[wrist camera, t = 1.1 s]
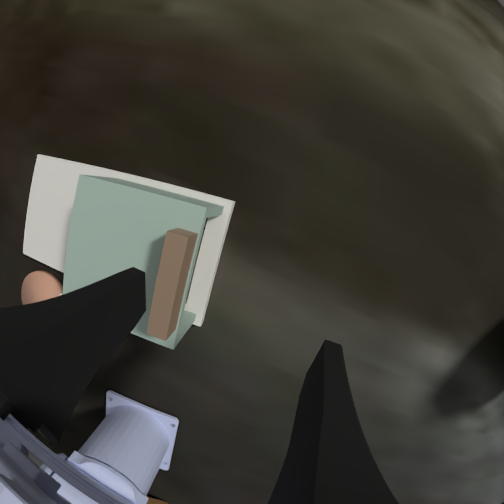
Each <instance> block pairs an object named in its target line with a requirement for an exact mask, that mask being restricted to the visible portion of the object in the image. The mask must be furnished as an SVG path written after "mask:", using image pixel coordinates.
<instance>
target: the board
mask: <svg viewBox="0 0 504 504" xmlns="http://www.w3.org/2000/svg"><path fill="white" fill-rule="evenodd" d="M80 174H81V175H92V176H101V177H111V178H118V179H122V180H126V181H130V182H134V183H138V184H142V185H146V186H150V187H154V188H158V189H162V190H165V191H169V192H173V193H177V194H181V195H184V196H188V197H192V198H195V199H199V200H203V201H206V202H210V203H213V204H217V205H221V206H224V209H223V213H222V215H218V216H213V217H208V219H207V223H206V227H205V231H204V234H203V238H202V242H201V246H200V250H199V254H198V258H197V262H196V266H195V270H194V274H193V278H192V283H191V287H190V291H189V295H188V300H186V304H185V308H184V310H186V311H189V312H192V313H195V314H196V318H195V321H194V322H193V324H194V325H196V326H199V327H201V325H202V324H203V321H204V317H205V313H206V309H207V305H208V301H209V297H210V293H211V289H212V286H213V282H214V278H215V274H216V270H217V267H218V263H219V259H220V255H221V252H222V248H223V244H224V241H225V237H226V233H227V230H228V226H229V222H230V219H231V215H232V212H233V208H234V205H235V201H231V200H228V199H224V198H220V197H217V196H213V195H209V194H206V193H202V192H198V191H195V190H191V189H187V188H183V187H179V186H175V185H172V184H168V183H164V182H160V181H156V180H152V179H148V178H144V177H140V176H135V175H131V174H127V173H123V172H119V171H114V170H110V169H106V168H101V167H97V166H92V165H88V164H83V163H79V162H74V161H70V160H65V159H60V158H55V157H50V156H45V155H39V154H38V156H37V160H36V164H35V169H34V174H33V179H32V184H31V190H30V196H29V202H28V209H27V217H26V225H25V234H24V245H23V254H25V255H27V256H29V257H31V258H33V259H35V260H37V261H39V262H42V263H44V264H46V265H48V266H50V267H52V268H54V269H56V270H58V271H61V272H63V273H64V268H65V259H66V250H67V242H68V235H69V228H70V222H71V216H72V210H73V204H74V199H75V194H76V189H77V184H78V180H79V175H80Z"/></svg>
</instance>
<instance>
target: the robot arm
mask: <svg viewBox="0 0 504 504" xmlns="http://www.w3.org/2000/svg"><path fill="white" fill-rule="evenodd" d="M145 311H146V281H145V272H144V271H142V270H139V269H137V268H135V267H131V268H129V269H126V270H124V271H121V272H119V273H116V274H114V275H111V276H109V277H107V278H104V279H102V280H100V281H97V282H95V283H92V284H90V285H88V286H85V287H82V288H80V289H77V290H74V291H72V292H69V293H66V294H63V295H60V296H57V297H54V298H50V299H47V300H43V301H39V302H35V303H30V304H25V305H20V306H13V307H5V308H0V504H146V503H147V501H148V499H149V498H148V497H146V495H147V493H148V491H149V489H150V487H151V485H152V482H153V480H154V478H155V476H156V474H157V472H158V470H159V468H160V469H163V470H168V469H169V466H170V461H171V456H172V452H173V447H174V442H175V438H176V433H177V429H178V424H179V420H178V419H177V418H176V417H173V416H171V415H168V414H165V413H163V412H160V411H158V410H155V409H153V408H150V407H148V406H145V405H143V404H141V403H138V402H136V401H134V400H131V399H129V398H127V397H125V396H123V395H120V394H118V393H116V392H114V391H112V390H108V391H107V393H106V417H105V419H104V420H103V421H102V422H101V423H100V425H99V426H98V427H97V428H96V430H95V431H94V432H93V433H92V435H91V436H90V437H89V438H88V440H87V441H86V442H85V443H84V445H83V446H82V447H81V448H80V450H79V451H78V452H77V451H74V452H73V453H72V454H71V455H70V457H69V458H68V456H66V455H65V454H64V453H60V454H55V453H54V452H53V451H51V450H50V449H49V448H48V447H47V446H45V445H44V444H43V443H42V442H41V441H39V440H38V439H37V438H36V437H35V436H34V435H32V434H31V433H30V432H29V431H28V430H27V428H28V427H29V428H30V429H31V430H32V431H33V432H38V433H39V434H41V435H42V436H43V437H44V438H45V439H47V440H48V441H49V442H50V443H57V442H59V440H60V437H61V435H62V433H63V431H64V428H65V426H66V424H67V422H68V420H69V418H70V416H71V414H72V412H73V410H74V408H75V406H76V405H77V403H78V401H79V399H80V398H81V396H82V394H83V393H84V391H85V389H86V388H87V386H88V385H89V383H90V382H91V380H92V379H93V377H94V376H95V374H96V373H97V371H98V370H99V369H100V367H101V366H102V365H103V364H104V362H105V361H106V360H107V359H108V358H109V357H110V356H111V354H112V353H113V352H114V351H115V350H116V349H117V348H118V346H119V345H120V344H121V343H122V342H123V341H124V340H125V338H126V337H127V336H128V335H129V334H130V333H131V331H132V330H133V329H134V328H135V326H136V325H137V323H138V322H139V320H140V319H141V317H142V316H143V314H144V313H145ZM111 398H112V399H111ZM173 424H174V425H173ZM27 449H28V450H29V451H30V452H31V453H32V454H33V455H34V456H36V457H37V458H38V459H39V460H40V461H41V462H43V464H42V465H41V467H39V466H38V465H37V464H35V463H34V462H33V461H32V460H31V459H30V458H29V457H28V450H27ZM268 504H399V503H398V502H397V500H396V499H395V497H394V496H393V494H392V492H391V491H390V489H389V487H388V486H387V484H386V482H385V480H384V478H383V476H382V474H381V472H380V470H379V468H378V466H377V464H376V462H375V460H374V458H373V456H372V454H371V451H370V449H369V447H368V444H367V442H366V439H365V436H364V434H363V431H362V428H361V425H360V422H359V419H358V416H357V412H356V409H355V406H354V402H353V398H352V394H351V390H350V386H349V382H348V377H347V372H346V367H345V362H344V356H343V349H342V346H341V345H340V344H337V343H334V342H331V341H328V340H325V341H324V343H323V345H322V346H321V348H320V350H319V352H318V354H317V356H316V357H315V359H314V361H313V363H312V365H311V366H310V368H309V370H308V372H307V374H306V377H305V380H304V384H303V387H302V390H301V393H300V396H299V401H298V406H297V411H296V416H295V421H294V426H293V430H292V435H291V440H290V444H289V448H288V452H287V455H286V458H285V461H284V464H283V467H282V469H281V472H280V475H279V478H278V480H277V483H276V485H275V488H274V490H273V493H272V495H271V497H270V500H269V502H268Z"/></svg>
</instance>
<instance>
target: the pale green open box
mask: <svg viewBox="0 0 504 504" xmlns="http://www.w3.org/2000/svg"><path fill="white" fill-rule="evenodd" d="M223 209H224V206H221V205H217V204H213V203H210V202H206V201H203V200H199V199H195V198H192V197H188V196H184V195H181V194H177V193H173V192H169V191H165V190H162V189H158V188H154V187H150V186H146V185H142V184H138V183H134V182H130V181H126V180H122V179H118V178H111V177H101V176H92V175H81V174H80V175H79V180H78V184H77V189H76V194H75V199H74V204H73V210H72V216H71V222H70V228H69V235H68V242H67V250H66V259H65V268H64V280H63V294H66V293H69V292H72V291H74V290H77V289H80V288H82V287H85V286H88V285H90V284H92V283H95V282H97V281H100V280H102V279H104V278H107V277H109V276H111V275H114V274H116V273H119V272H121V271H124V270H126V269H129V268H131V267H135V268H137V269H139V270H142V271H144V272H145V281H146V311H145V313H144V314H143V316H142V317H141V319H140V320H139V322H138V323H137V325H136V326H135V328H134V329H133V330H132V331H131V333H132V334H134V335H137V336H139V337H142V338H144V339H147V340H149V341H152V342H154V343H157V344H160V345H162V346H165V347H167V348H170V349H174V348H175V347H176V345H177V344H178V343H179V341H180V340H181V339H182V337H183V336H184V335H185V333H186V332H187V330H188V329H189V328H190V326H191V325H192V324H193V322H194V321H195V318H196V314H195V313H192V312H189V311H186V310H184V308H185V304H186V299H187V295H188V291H189V286H190V282H191V278H192V274H193V270H194V266H195V261H196V257H197V253H198V249H199V245H200V242H201V238H202V234H203V230H204V226H205V222H206V219H207V218H208V217H213V216H218V215H222V213H223ZM63 294H62V295H63Z"/></svg>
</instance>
